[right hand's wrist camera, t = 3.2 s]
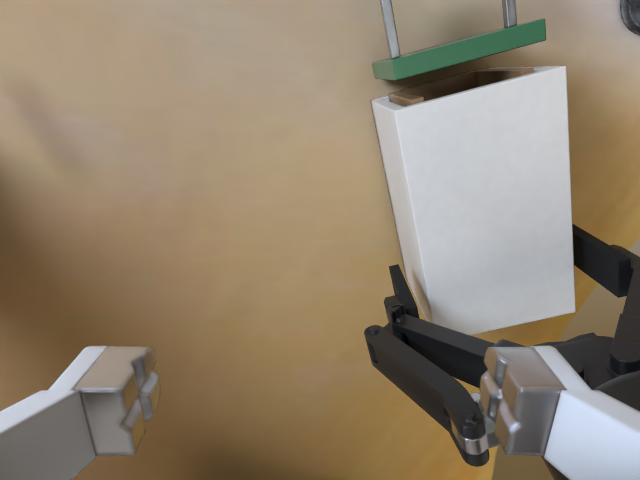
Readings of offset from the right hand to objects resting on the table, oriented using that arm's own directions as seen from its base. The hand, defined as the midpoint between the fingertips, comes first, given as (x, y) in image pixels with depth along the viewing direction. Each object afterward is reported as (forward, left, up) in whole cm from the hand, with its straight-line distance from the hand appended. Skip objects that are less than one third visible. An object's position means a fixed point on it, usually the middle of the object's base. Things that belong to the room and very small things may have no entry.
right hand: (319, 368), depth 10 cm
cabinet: (+9, +8, -29) cm, 32 cm away
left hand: (+13, +7, -22) cm, 27 cm away
